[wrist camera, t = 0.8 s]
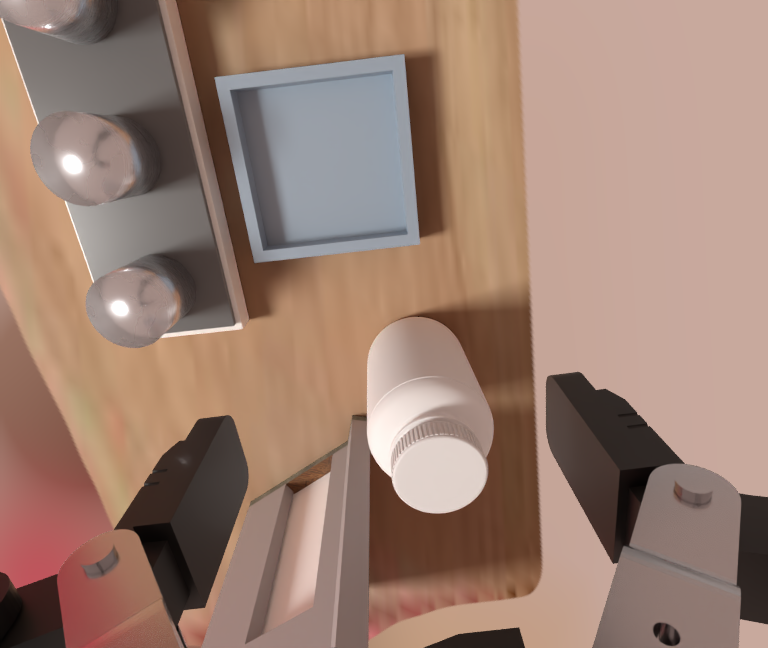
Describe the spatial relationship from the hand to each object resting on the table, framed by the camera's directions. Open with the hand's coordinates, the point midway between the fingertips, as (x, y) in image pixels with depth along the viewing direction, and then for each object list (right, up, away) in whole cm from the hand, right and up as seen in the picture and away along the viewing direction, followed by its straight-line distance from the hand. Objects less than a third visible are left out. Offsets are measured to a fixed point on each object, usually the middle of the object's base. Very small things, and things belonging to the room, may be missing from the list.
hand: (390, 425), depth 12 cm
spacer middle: (-17, +13, +19) cm, 29 cm away
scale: (-17, +15, +21) cm, 31 cm away
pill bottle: (+2, 0, +28) cm, 28 cm away
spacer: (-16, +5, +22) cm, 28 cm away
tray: (-4, +14, +22) cm, 26 cm away
